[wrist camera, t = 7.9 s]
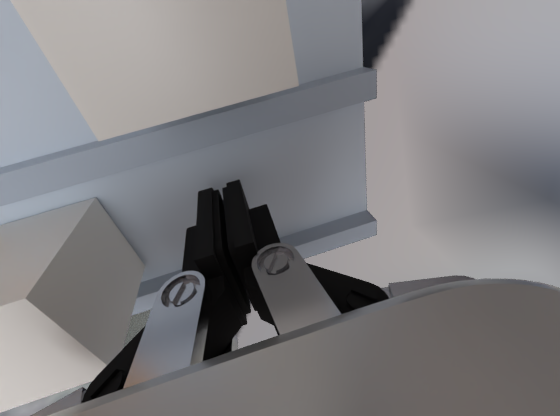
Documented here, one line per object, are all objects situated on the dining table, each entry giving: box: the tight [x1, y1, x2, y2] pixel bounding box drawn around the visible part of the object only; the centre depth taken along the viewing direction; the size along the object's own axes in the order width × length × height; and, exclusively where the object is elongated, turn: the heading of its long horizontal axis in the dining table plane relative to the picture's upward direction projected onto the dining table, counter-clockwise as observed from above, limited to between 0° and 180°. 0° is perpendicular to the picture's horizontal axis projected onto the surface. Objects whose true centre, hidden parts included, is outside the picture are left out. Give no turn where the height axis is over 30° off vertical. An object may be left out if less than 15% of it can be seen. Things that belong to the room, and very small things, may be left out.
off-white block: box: [10, 0, 299, 141], centre depth 6 cm, size 4×4×5 cm
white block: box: [0, 198, 145, 412], centre depth 10 cm, size 4×4×5 cm
